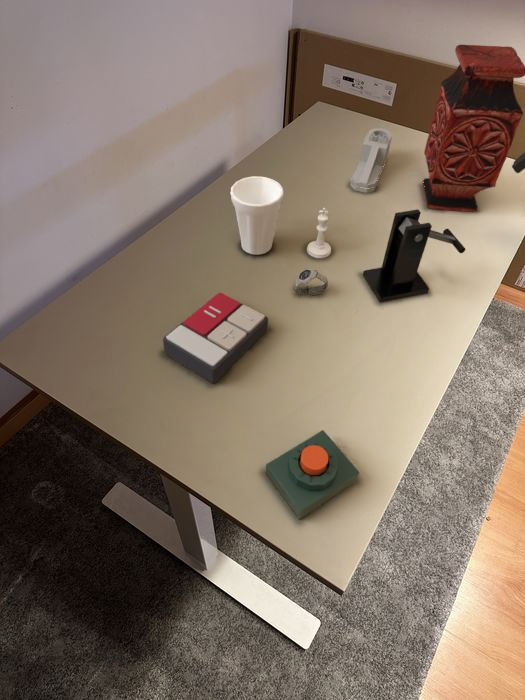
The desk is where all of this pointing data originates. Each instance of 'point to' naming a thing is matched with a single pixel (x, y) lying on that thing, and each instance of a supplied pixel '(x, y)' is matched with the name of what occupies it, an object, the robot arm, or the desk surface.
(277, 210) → the cup
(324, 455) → the orange button
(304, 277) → the wristwatch
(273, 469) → the control block
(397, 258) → the bracket
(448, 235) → the lever
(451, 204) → the vase
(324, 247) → the chess piece
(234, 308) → the calculator
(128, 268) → the desk surface
